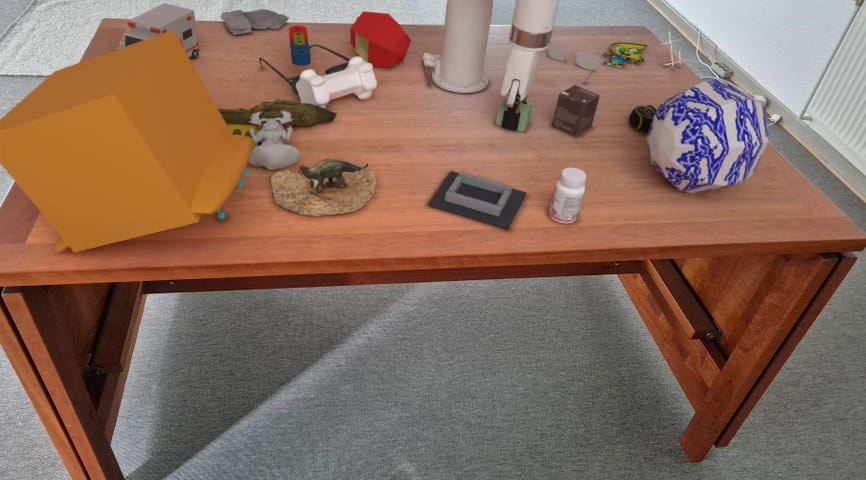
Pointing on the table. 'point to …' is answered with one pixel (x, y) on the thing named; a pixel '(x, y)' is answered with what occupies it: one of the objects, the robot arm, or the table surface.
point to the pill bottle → (568, 195)
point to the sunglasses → (294, 80)
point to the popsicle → (242, 131)
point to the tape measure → (642, 118)
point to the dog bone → (337, 83)
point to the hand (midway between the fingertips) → (512, 122)
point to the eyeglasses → (581, 57)
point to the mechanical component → (299, 46)
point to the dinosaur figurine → (324, 188)
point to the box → (575, 110)
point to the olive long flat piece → (299, 113)
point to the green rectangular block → (524, 116)
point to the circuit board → (280, 100)
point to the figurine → (272, 143)
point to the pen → (427, 74)
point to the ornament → (708, 137)
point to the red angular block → (379, 39)
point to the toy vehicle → (165, 27)
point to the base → (478, 199)
